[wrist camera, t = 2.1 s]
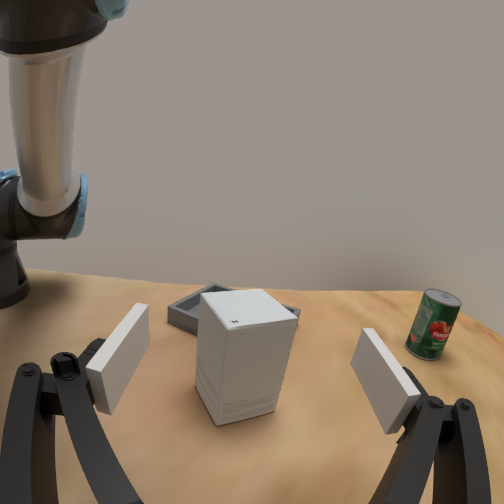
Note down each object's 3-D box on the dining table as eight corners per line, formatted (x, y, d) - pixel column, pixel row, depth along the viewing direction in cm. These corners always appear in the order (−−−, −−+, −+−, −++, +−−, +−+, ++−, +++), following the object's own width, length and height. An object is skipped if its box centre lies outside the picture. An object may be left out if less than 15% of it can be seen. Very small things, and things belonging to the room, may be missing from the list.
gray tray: (167, 322, 44) (167, 306, 43) (212, 296, 56) (213, 282, 56) (269, 363, 37) (273, 346, 37) (297, 324, 50) (300, 309, 49)
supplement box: (276, 412, 28) (301, 318, 25) (214, 427, 25) (225, 328, 22) (248, 374, 34) (263, 287, 31) (193, 383, 31) (198, 290, 28)
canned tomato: (431, 365, 38) (456, 308, 35) (398, 346, 44) (418, 291, 41) (445, 351, 42) (465, 300, 40) (415, 335, 49) (432, 285, 46)
